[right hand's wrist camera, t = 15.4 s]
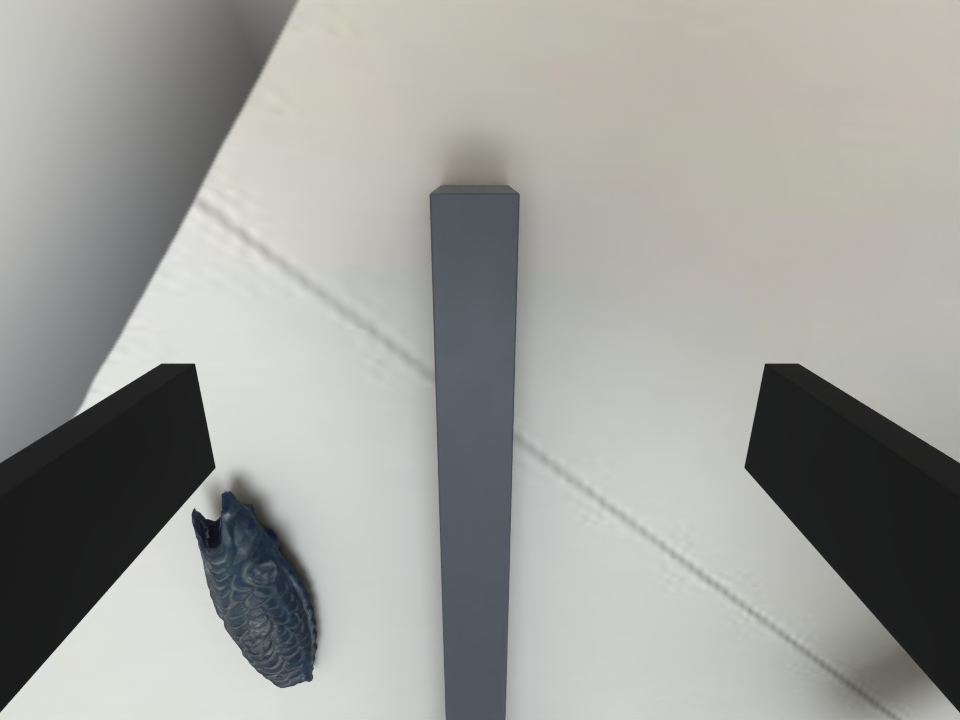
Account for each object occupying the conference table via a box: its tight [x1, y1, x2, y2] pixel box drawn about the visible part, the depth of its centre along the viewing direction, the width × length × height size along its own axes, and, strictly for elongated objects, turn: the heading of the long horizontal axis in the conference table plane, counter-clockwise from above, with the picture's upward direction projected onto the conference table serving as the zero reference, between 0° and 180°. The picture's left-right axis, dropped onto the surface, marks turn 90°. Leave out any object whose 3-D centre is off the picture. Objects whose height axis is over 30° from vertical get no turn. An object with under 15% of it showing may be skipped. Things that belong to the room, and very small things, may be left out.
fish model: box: [192, 491, 317, 688], centre depth 43 cm, size 7×21×5 cm, turn 8°
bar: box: [430, 186, 519, 720], centre depth 44 cm, size 79×4×8 cm, turn 0°
